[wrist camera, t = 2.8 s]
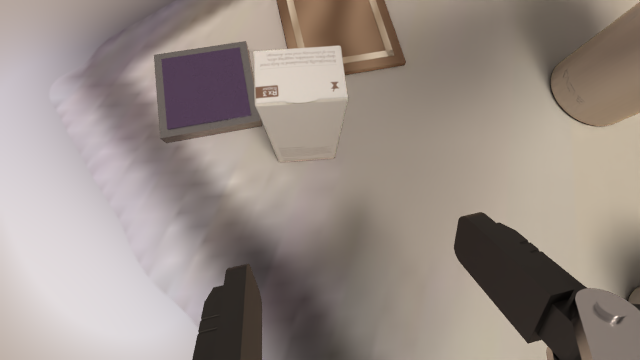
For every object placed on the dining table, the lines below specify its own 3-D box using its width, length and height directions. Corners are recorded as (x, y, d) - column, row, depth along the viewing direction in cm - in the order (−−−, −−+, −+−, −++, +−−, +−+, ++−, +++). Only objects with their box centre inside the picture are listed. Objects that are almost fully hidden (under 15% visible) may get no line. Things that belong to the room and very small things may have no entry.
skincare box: (330, 123, 30) (345, 38, 18) (335, 161, 29) (354, 98, 17) (274, 127, 29) (251, 43, 18) (276, 166, 28) (253, 104, 17)
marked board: (375, -20, 35) (376, -24, 35) (404, 65, 32) (406, 61, 32) (275, -7, 34) (274, -11, 34) (295, 83, 31) (295, 79, 30)
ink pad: (248, 49, 32) (245, 40, 31) (262, 125, 29) (259, 119, 28) (159, 62, 31) (153, 54, 30) (166, 143, 28) (159, 137, 27)
